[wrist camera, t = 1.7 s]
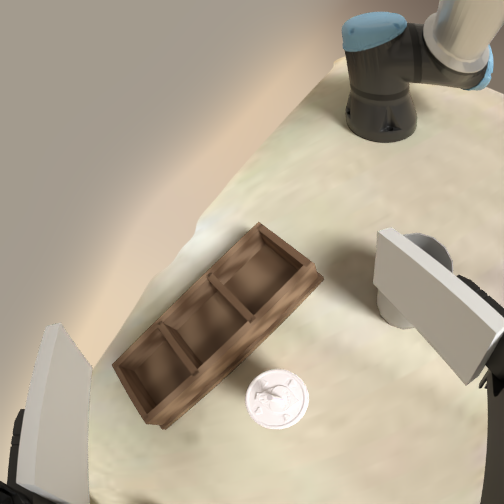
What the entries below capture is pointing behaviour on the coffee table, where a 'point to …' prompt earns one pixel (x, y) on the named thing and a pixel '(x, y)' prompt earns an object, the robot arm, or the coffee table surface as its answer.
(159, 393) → the caddy
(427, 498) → the coffee table surface
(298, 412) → the smoothie
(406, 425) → the coffee table surface
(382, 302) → the cup
